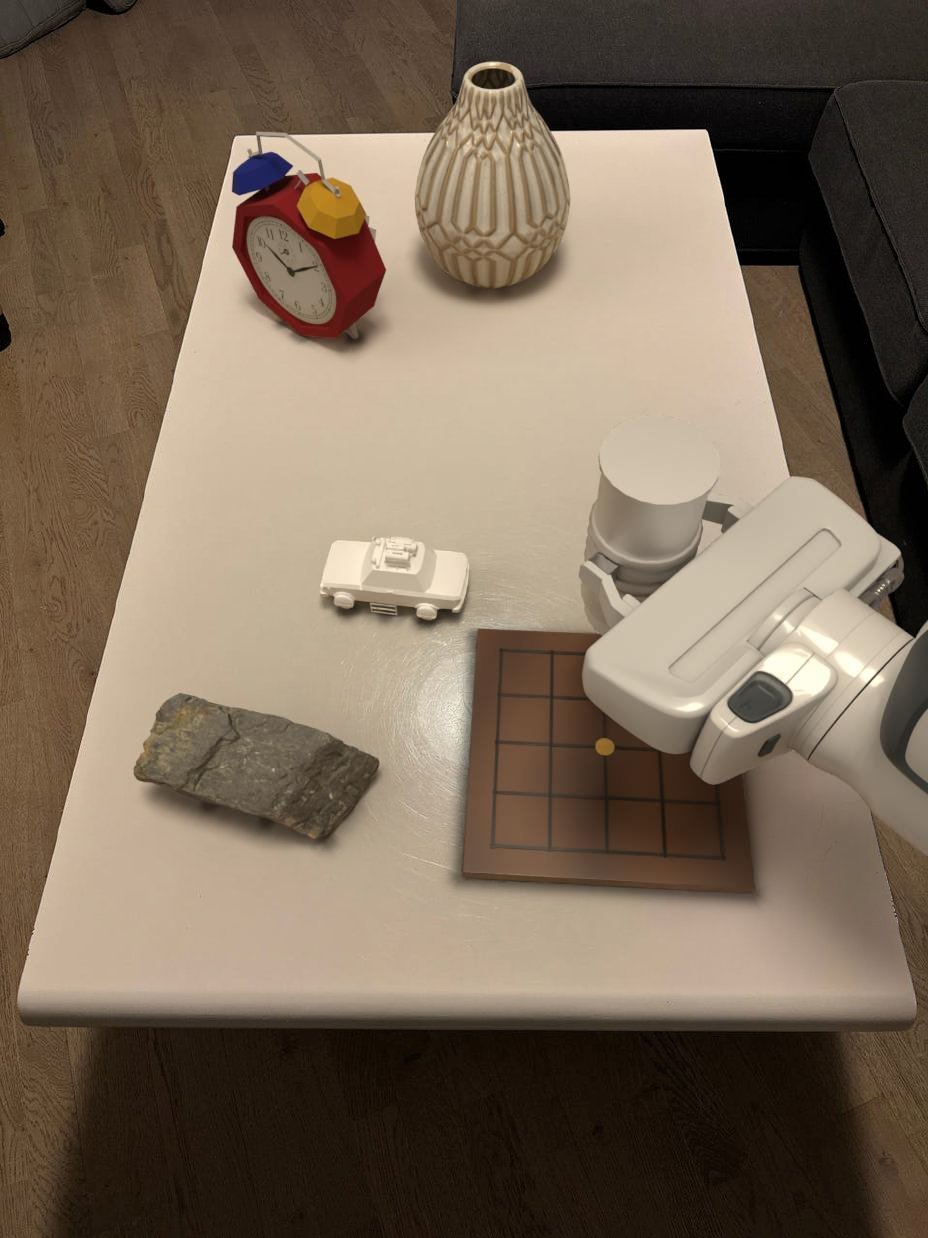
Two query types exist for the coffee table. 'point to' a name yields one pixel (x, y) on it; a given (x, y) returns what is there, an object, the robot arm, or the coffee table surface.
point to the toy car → (395, 575)
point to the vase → (492, 183)
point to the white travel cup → (649, 504)
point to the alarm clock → (305, 244)
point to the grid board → (585, 784)
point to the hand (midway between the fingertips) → (631, 528)
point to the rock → (254, 764)
